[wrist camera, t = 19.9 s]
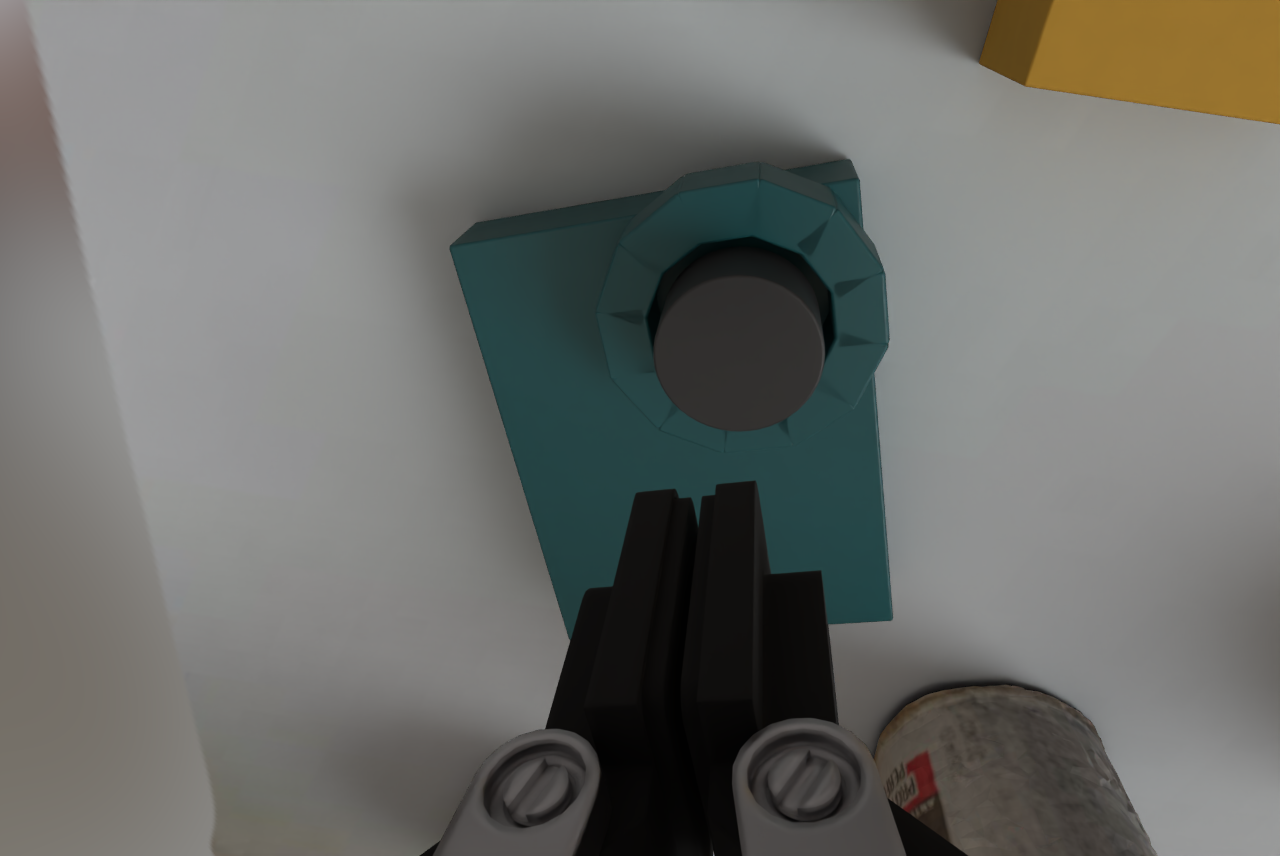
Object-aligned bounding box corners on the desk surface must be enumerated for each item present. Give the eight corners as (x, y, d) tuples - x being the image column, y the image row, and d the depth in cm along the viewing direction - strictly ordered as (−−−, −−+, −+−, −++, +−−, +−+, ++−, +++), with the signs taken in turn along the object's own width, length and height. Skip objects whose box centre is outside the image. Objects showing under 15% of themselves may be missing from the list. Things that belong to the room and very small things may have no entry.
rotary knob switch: (466, 194, 23) (411, 237, 19) (859, 124, 20) (877, 157, 17) (581, 596, 29) (556, 682, 25) (892, 574, 27) (911, 665, 23)
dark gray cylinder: (649, 258, 19) (637, 289, 17) (811, 233, 18) (816, 262, 17) (677, 399, 21) (669, 440, 19) (826, 381, 20) (832, 423, 18)
